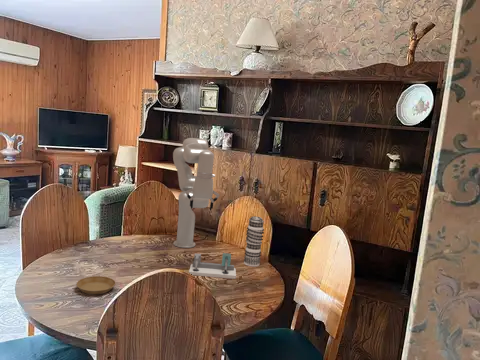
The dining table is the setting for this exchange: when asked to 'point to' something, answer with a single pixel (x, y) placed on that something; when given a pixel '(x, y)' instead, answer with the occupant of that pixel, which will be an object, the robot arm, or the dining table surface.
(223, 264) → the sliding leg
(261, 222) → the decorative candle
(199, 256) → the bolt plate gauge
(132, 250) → the dining table surface
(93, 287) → the plant saucer
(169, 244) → the dining table surface
